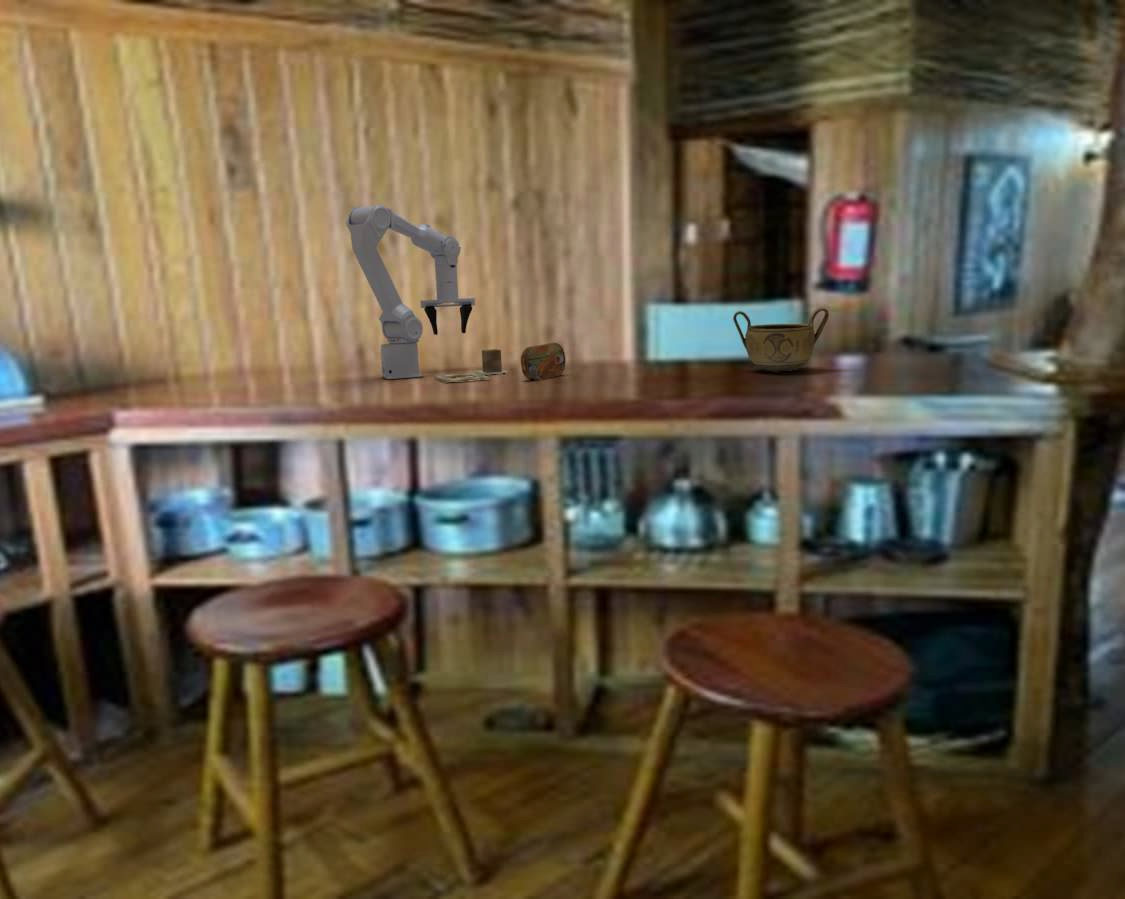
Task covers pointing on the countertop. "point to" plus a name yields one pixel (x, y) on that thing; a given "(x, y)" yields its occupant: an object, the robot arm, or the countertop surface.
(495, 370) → the walnut block
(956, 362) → the countertop surface
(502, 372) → the ceramic pad
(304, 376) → the countertop surface
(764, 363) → the ceramic bowl
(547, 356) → the tin
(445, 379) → the pocket board
